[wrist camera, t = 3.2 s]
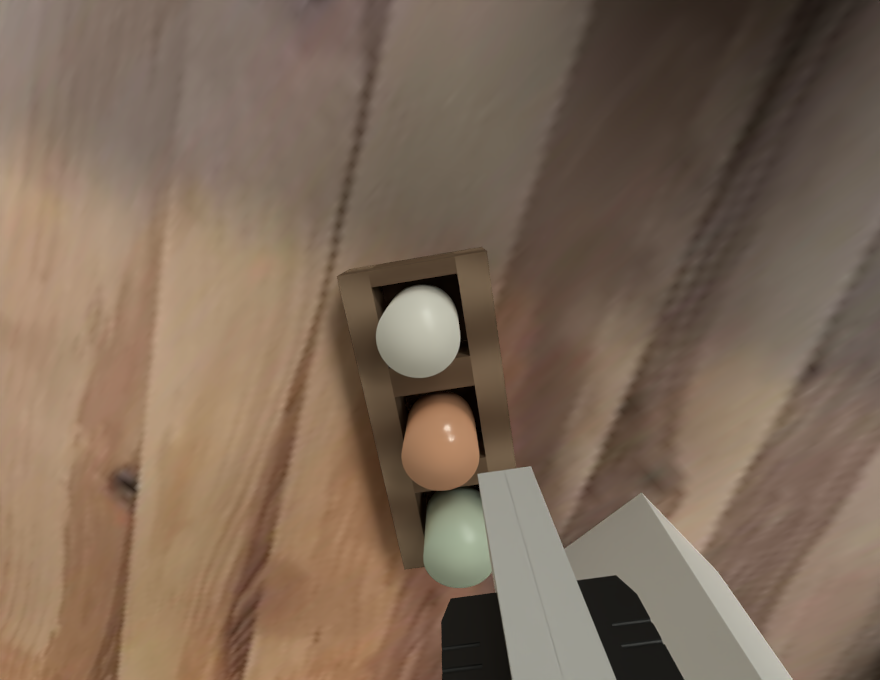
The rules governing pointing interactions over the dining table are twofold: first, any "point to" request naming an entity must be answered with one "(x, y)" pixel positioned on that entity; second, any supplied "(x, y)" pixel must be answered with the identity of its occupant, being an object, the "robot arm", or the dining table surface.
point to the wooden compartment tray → (428, 378)
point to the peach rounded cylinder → (440, 442)
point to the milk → (677, 594)
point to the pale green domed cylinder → (456, 538)
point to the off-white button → (419, 331)
